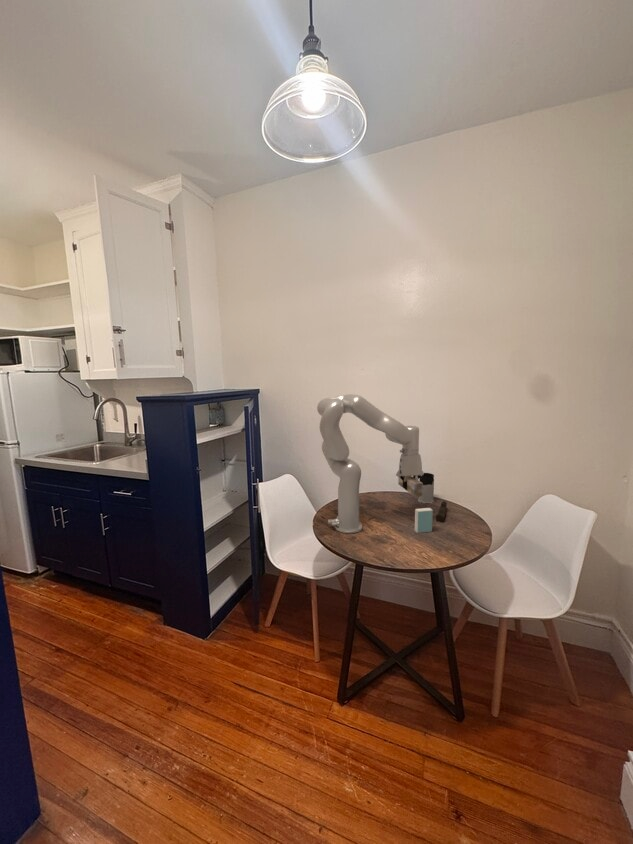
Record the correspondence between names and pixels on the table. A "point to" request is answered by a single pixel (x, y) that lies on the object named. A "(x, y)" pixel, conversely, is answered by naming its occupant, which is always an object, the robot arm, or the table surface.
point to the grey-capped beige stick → (412, 486)
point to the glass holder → (427, 488)
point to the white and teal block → (423, 520)
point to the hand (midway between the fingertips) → (409, 488)
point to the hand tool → (441, 512)
